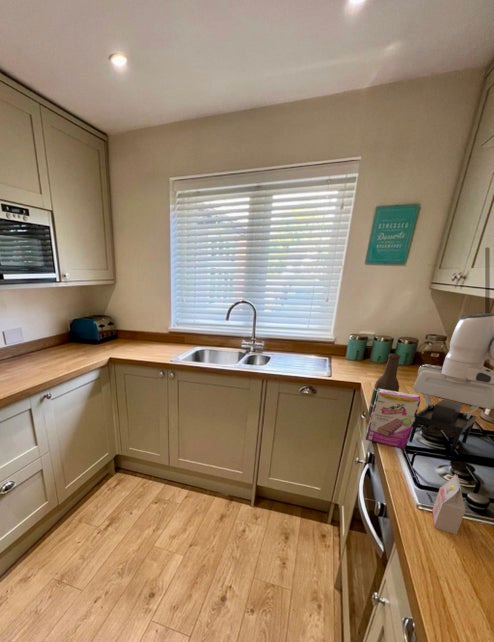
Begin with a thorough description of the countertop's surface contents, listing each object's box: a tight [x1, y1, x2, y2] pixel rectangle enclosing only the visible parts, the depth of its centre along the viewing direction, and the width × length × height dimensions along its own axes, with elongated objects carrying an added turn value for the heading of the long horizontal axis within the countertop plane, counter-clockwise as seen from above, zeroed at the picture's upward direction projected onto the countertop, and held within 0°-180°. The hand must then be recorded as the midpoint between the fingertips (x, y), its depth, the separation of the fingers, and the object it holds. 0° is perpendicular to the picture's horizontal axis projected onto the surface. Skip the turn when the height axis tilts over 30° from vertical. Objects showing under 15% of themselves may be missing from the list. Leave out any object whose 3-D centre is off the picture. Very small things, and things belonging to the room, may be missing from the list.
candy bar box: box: [365, 389, 422, 450], centre depth 101 cm, size 11×5×16 cm, turn 59°
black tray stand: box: [408, 404, 477, 456], centre depth 104 cm, size 12×15×9 cm
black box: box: [431, 398, 464, 424], centre depth 102 cm, size 5×8×5 cm, turn 129°
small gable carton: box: [432, 473, 466, 535], centre depth 68 cm, size 4×7×10 cm, turn 147°
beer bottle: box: [367, 352, 402, 419], centre depth 119 cm, size 8×8×24 cm
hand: (446, 413), depth 102 cm, fingers open, 8 cm apart
